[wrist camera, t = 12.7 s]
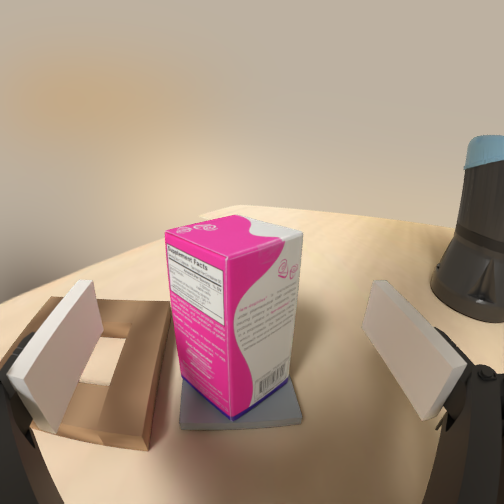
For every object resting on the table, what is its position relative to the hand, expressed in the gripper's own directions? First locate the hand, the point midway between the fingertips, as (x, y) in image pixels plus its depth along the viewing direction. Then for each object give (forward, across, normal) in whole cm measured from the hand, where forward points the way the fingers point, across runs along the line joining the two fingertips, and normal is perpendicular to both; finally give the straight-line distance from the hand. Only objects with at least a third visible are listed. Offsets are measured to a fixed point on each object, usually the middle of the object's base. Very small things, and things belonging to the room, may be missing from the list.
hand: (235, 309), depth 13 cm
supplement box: (+4, 0, -9) cm, 10 cm away
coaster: (+4, 0, -10) cm, 11 cm away
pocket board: (+6, -12, -10) cm, 17 cm away
